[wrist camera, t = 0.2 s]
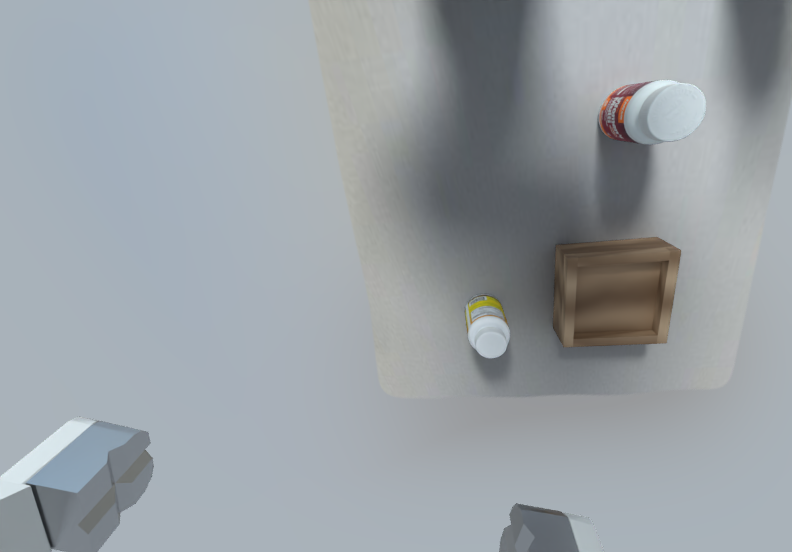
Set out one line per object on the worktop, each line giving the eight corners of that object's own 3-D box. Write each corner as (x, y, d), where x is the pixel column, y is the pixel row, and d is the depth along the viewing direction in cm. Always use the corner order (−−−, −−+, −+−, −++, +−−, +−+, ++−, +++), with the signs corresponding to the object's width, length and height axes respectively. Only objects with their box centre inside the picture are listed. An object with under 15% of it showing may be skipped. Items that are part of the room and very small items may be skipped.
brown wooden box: (555, 244, 54) (567, 258, 49) (657, 237, 52) (681, 250, 47) (552, 326, 59) (563, 347, 53) (646, 322, 57) (666, 343, 52)
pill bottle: (591, 98, 47) (635, 93, 36) (646, 75, 45) (708, 64, 35) (602, 148, 49) (646, 157, 38) (655, 128, 47) (716, 132, 37)
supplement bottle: (490, 330, 60) (499, 370, 51) (457, 315, 60) (461, 353, 50) (509, 301, 58) (522, 338, 48) (476, 286, 57) (482, 319, 48)
